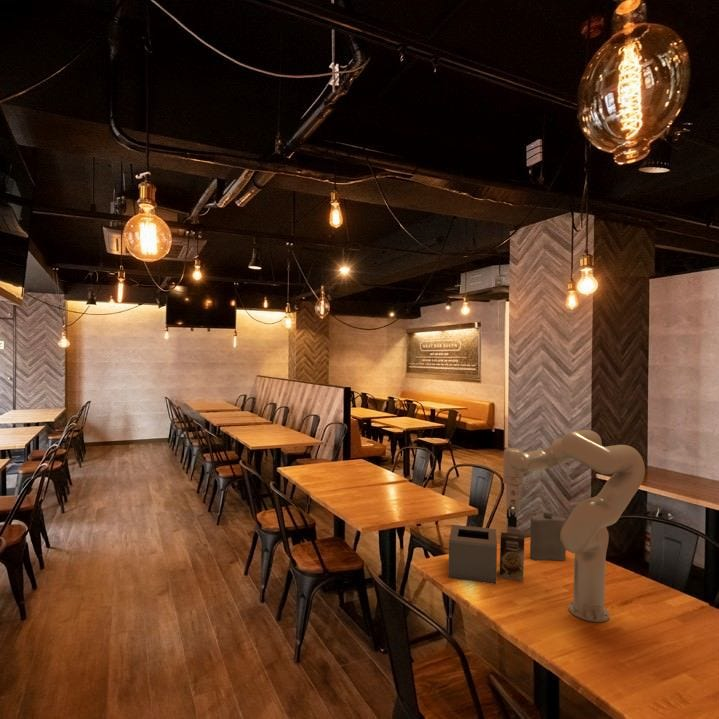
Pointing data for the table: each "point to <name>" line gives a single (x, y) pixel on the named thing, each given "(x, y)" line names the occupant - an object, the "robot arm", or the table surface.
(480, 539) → the slot box
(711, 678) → the table surface
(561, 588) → the table surface
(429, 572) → the table surface
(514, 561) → the coffee box
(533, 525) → the flask
